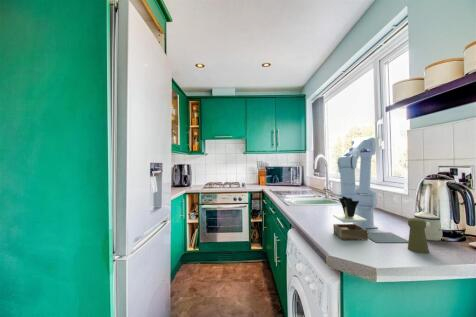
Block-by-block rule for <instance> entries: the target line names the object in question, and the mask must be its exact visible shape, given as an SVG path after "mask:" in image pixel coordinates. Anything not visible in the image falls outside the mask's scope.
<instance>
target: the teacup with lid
mask: <svg viewBox="0 0 476 317" xmlns="http://www.w3.org/2000/svg"><path fill="white" fill-rule="evenodd" d="M423 211H424V210H422V211H420V212H415V213H414V215H413V216H414V217H413V218H419V219H423V220H424V221H425V222H426V228H425V234H426V239H427V241H436V242H437V241H442V240H441V237H442V236H443V229H442V230H441V223H440V217H438V216H435V215H433V214H431V213H429V212H423Z"/></svg>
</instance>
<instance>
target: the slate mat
mask: <svg viewBox="0 0 476 317" xmlns="http://www.w3.org/2000/svg"><path fill="white" fill-rule="evenodd" d="M367 235H368V240H371V241H372V242H374V243H376V244H405V243H406V244H408V241H409V239H406V238H403V237H401V236H399V235H397V234H395V233H393V232H367Z"/></svg>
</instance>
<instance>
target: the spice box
mask: <svg viewBox="0 0 476 317" xmlns="http://www.w3.org/2000/svg"><path fill="white" fill-rule="evenodd" d="M332 227H333V234H334V235H335V236H336V237H338V239H340V240H341V241H368V240H369V238H368V235H367V233H368V229H367V228H363V227H361V226H359V225H357V224H353V223H334V224H333V226H332Z"/></svg>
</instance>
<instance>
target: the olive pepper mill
mask: <svg viewBox="0 0 476 317" xmlns="http://www.w3.org/2000/svg"><path fill="white" fill-rule="evenodd" d="M407 224H408V227H409V232H408V233H409V235H408V243H407V249H408V250H409V251H411V252H412V253H413V252H415V253H419V254H428V253H429V252H430V250H429V245H428V240H427V239H426V234H425V228H426V222H425V221H424V220H423V219H419V218H415V217H411V218H409V219H408V220H407Z"/></svg>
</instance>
